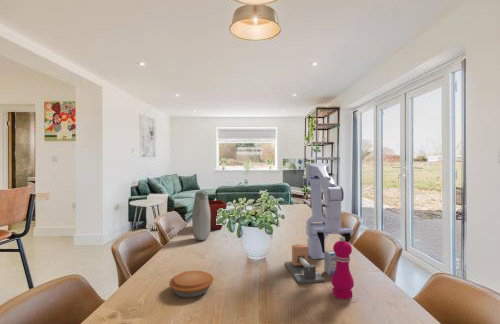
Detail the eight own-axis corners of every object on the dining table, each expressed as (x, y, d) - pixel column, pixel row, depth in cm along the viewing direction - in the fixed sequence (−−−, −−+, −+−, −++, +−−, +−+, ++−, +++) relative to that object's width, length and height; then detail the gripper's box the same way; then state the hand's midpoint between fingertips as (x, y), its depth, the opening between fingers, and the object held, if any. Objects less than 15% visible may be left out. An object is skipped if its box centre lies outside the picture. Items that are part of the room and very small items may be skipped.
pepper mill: (336, 288, 101) (336, 232, 100) (356, 294, 96) (356, 236, 96) (327, 295, 95) (327, 237, 95) (349, 302, 90) (349, 241, 90)
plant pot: (194, 225, 193) (193, 201, 193) (221, 223, 199) (221, 199, 199) (197, 232, 175) (197, 205, 175) (227, 230, 181) (227, 204, 180)
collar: (292, 262, 119) (291, 245, 119) (305, 262, 120) (305, 244, 120) (294, 265, 116) (294, 247, 116) (308, 264, 117) (308, 246, 117)
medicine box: (329, 275, 111) (329, 254, 111) (323, 271, 115) (323, 250, 115) (347, 273, 113) (347, 252, 113) (340, 269, 117) (340, 248, 117)
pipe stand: (284, 264, 123) (284, 251, 123) (306, 262, 124) (306, 250, 124) (298, 283, 104) (298, 268, 104) (324, 281, 106) (324, 267, 106)
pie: (169, 304, 90) (169, 289, 90) (169, 283, 105) (169, 270, 105) (217, 297, 95) (217, 282, 95) (210, 278, 110) (210, 265, 109)
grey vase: (209, 242, 156) (208, 191, 155) (190, 242, 156) (190, 191, 155) (211, 237, 165) (211, 189, 165) (194, 237, 166) (194, 189, 165)
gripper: (315, 219, 106) (315, 254, 107) (355, 220, 104) (355, 256, 105) (313, 215, 113) (313, 248, 114) (351, 216, 111) (350, 250, 112)
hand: (333, 252), depth 110 cm, fingers open, 7 cm apart
